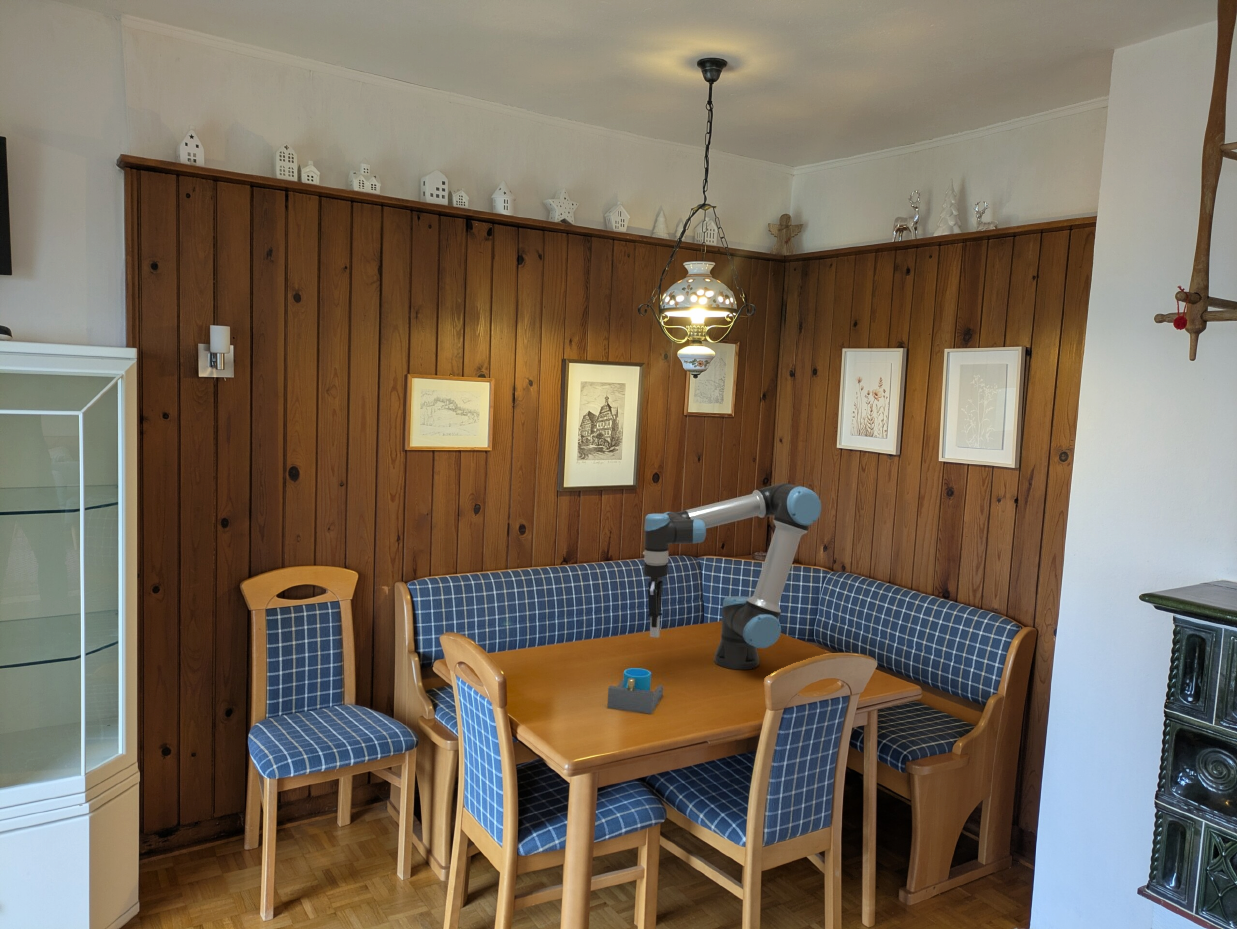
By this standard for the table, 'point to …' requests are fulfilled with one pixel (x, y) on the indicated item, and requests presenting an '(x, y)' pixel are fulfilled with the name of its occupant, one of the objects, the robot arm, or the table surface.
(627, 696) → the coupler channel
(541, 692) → the table surface
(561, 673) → the table surface
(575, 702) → the table surface
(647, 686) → the mug
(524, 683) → the table surface
